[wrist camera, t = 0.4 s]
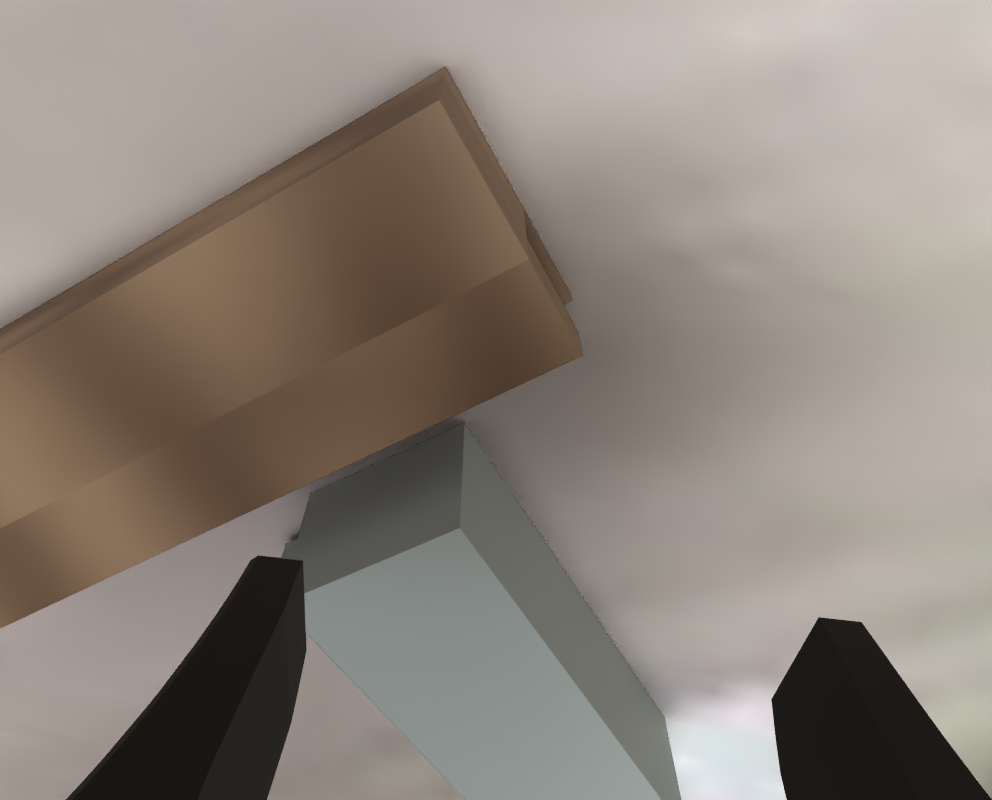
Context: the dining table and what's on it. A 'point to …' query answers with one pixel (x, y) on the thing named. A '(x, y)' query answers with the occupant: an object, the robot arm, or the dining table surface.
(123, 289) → the grooved board
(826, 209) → the dining table surface
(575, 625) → the tongue plank
